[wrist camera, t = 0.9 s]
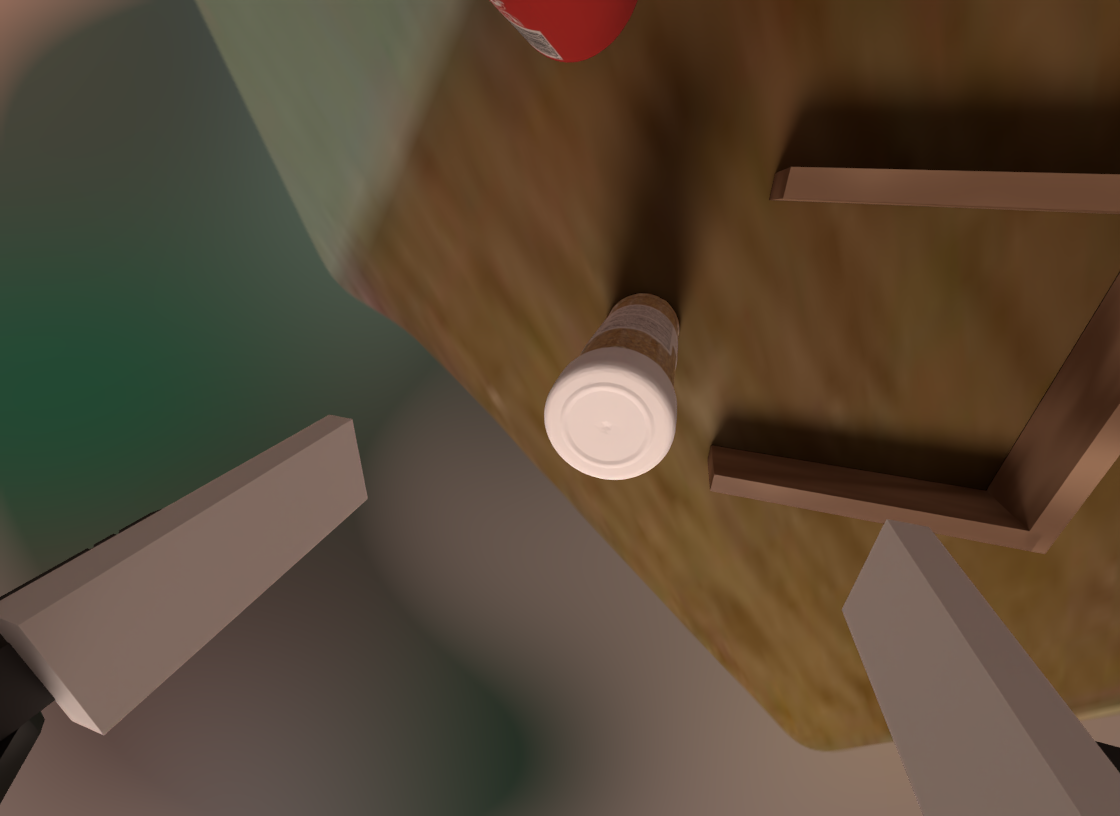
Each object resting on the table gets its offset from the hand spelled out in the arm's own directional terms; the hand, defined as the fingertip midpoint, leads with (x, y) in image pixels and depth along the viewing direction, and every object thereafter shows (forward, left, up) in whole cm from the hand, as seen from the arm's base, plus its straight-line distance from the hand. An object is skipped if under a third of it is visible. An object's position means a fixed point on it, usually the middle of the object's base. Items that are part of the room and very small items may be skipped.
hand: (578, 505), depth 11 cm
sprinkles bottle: (0, 0, -18) cm, 18 cm away
